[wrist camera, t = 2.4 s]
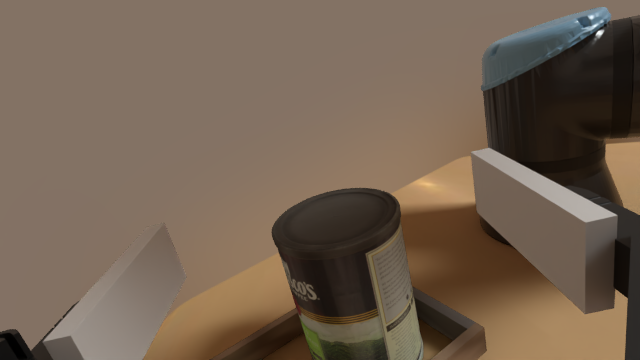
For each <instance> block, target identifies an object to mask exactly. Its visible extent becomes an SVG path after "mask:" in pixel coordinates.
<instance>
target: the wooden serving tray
mask: <svg viewBox="0 0 640 360" xmlns="http://www.w3.org/2000/svg"><path fill="white" fill-rule="evenodd" d="M412 290H413V296H414V301H415V306H416V312H417V317H418V318H419V319H421V320H422V321H424V322H425V323H427V324H429V325H430V326H432V327H433V328H435V329H436V330H438V331H439V332H441V333H442V334H444V335H445V336H447V337H448V338H450V339H451V340H453V341H452V342H451V343H450V344H449V345H448V346H446V347H445V348H444V349H443V350H442V351H440V352H439V353H438V354H437V355H435V356H434V357H433V358H432V359H431V360H477V359H478V358H479V357H480V356H481V355H483V354H484V353H485V352H486V351H487V349H486V340H485V331H484V327H483V326H481V325H479V324H477V323H476V322H474V321H472V320H470V319H469V318H467V317H465V316H463V315H462V314H460V313H458V312H456V311H455V310H453V309H451V308H449V307H448V306H446V305H444V304H442V303H441V302H439V301H437V300H435V299H434V298H432V297H430V296H428V295H427V294H425V293H423V292H421V291H420V290H418V289H416V288H414V287H413V286H412ZM303 332H304V330H303V327H302V324H301V320H300V317H299V314H298V311H297V308H295V309H293V310H292V311H290V312H288V313H287V314H285V315H283V316H282V317H280V318H278V319H277V320H275V321H273V322H272V323H270V324H268V325H267V326H265V327H263V328H262V329H260V330H258V331H257V332H255V333H253V334H252V335H250V336H248V337H247V338H245V339H243V340H242V341H240V342H238V343H237V344H235V345H233V346H232V347H230V348H228V349H227V350H225V351H223V352H222V353H220V354H218V355H217V356H215V357H213V358H212V359H210V360H261V359H263V358H264V357H266V356H267V355H269V354H270V353H272V352H274V351H275V350H277V349H278V348H280V347H281V346H283V345H284V344H286V343H288V342H289V341H291V340H292V339H294V338H295V337H297V336H298V335H300V334H302V333H303Z"/></svg>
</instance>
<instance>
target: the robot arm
mask: <svg viewBox="0 0 640 360" xmlns="http://www.w3.org/2000/svg"><path fill="white" fill-rule="evenodd" d="M610 19H611V14H610V13H609V12H608V9H607V8H605V7H600V8H594V9H590V10H587V11H583V12H580V13H575V14H572V15H569V16H565V17H562V18H559V19H556V20H553V21H550V22H547V23H544V24H541V25H538V26H535V27H532V28H529V29H526V30H523V31H521V32H518V33H515V34H513V35H510V36H507V37H505V38H503V39H500V40H498V41H496V42H495V43H493V44H491V45H490V46H489V47H488V48H487V49H486V51H485V53H484V55H483V58H482V75H483V76H482V79H483V84H482V86H481V90H482V91H483V96H484V106H485V117H486V127H487V138H488V148H486V149H482V150H478V151H473V152H471V160H472V170H473V179H474V189H475V199H476V209H477V213H478V214H479V215H480V223H481V226H482V228H483V229H484V230H485V231H486V232H487V233H488V234H489V235H490V236H492V237H493V238H495V239H497V240H499V241H501V242H503V243H506V244H509V245H512V246H513V247H514V248H515V249H517V250H518V251H519V252H520V253H521V254H522V255H523V256H524V257H525V258H526V259H527V260H528V261H529V262H530V263H531V264H532V265H533V266H535V267H536V268H537V269H538V270H539V271H540V272H541V273H542V274H543V275H544V276H545V277H546V278H547V279H548V280H549V281H550V282H551V283H553V284H554V285H555V286H556V287H557V288H558V289H559V290H560V291H561V292H562V293H563V294H564V295H565V296H566V297H567V298H568V299H569V300H571V301H572V302H573V303H574V304H575V305H576V306H577V307H578V308H579V309H580V310H581V311H582V312H583V313H584V314H588V313H593V312H598V311H603V310H608V309H612V308H614V300H615V289H616V290H618V291H619V292H620V293H622V294H623V295H624V296H626V297H627V298H628V307H627V326H626V348H625V360H640V215H638V214H636V213H634V212H632V211H630V210H628V209H626V208H624V207H623V203H622V200H621V198H620V195H619V193H618V191H617V188H616V186H615V183H614V181H613V178H612V176H611V173H610V171H609V169H608V166H607V164H606V160H605V145H606V143H605V142H606V139H613V138H632V137H640V15H638V16H633V17H629V18H624V19H619V20H613V21H610ZM185 279H186V274H185V272H184V269H183V267H182V265H181V262H180V260H179V257H178V255H177V252H176V250H175V247H174V245H173V243H172V240H171V238H170V235H169V233H168V230H167V228H166V226H165V223H161V224H157V225H153V226H148V227H147V228H146V229H145V230H144V231H143V232H142V233H141V234H140V235H139V236H138V237H137V238H136V240H135V241H134V242H133V243H132V244H131V245H130V246H129V247H128V248H127V249H126V251H125V252H124V253H123V254H122V255H121V256H120V257H119V259H117V261H116V262H115V263H114V264H113V265H112V266H111V267H110V268H109V269H108V270H107V271H106V273H105V274H104V275H103V276H102V277H101V278H100V279H99V280H98V281H97V282H96V284H95V285H94V286H93V287H92V288H91V289H90V290H89V291H88V292H87V293H86V294H85V296H84V297H83V298H82V299H81V300H80V301H78V302H77V303H76V304H74V305H73V306H72V307H71V308H70V309H69V310H68V311H67V313H66V314H65V315H64V316H63V318H62V319H60V320H59V321H58V322H57V323H56V324H55V327H54V328H52V329H51V330H50V331H49V332H48V333H47V334H46V335H45V336H44V338H43V339H42V340H41V341H40V342H39V343H38V344H37V345H36V346H35V347H34V348H33V349H32V351H30V349H29V348H28V346H27V345H26V343H25V341H24V340H23V338H22V337H21V335H20V333H19V332H18V331H17V330H16V329H15V330H14V329H12V330H11V329H10V330H6V331H2V332H0V360H143V358H144V356H145V354H146V352H147V350H148V349H149V347H150V345H151V343H152V341H153V339H154V337H155V335H156V334H157V332H158V330H159V328H160V326H161V324H162V322H163V320H164V319H165V317H166V315H167V313H168V311H169V309H170V307H171V305H172V304H173V302H174V299H175V298H176V296H177V294H178V292H179V290H180V289H181V286H182V285H183V283H184V281H185Z"/></svg>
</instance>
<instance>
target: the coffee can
mask: <svg viewBox="0 0 640 360" xmlns="http://www.w3.org/2000/svg"><path fill="white" fill-rule="evenodd" d="M400 217H401V212H400V205H399V202H398V201H397V199H396V198H395V197H394V196H392V195H391V194H389V193H387V192H384V191H381V190H377V189H369V188H350V189H341V190H336V191H331V192H326V193H323V194H320V195H316V196H313V197H311V198H308V199H306V200H304V201H302V202H300V203H298V204H297V205H294V206H293V207H291V208H290V209H288V210H287V211H285V212H284V213H283V214H282V215H281V216H280V217H279V218H278V219H277V221H276V222H275V223H274V225H273V227H272V237H273V240H274V242H275V245H276V246H277V248H278V251H279V254H280V257H281V260H282V263H283V267H284V269H285V273H286V276H287V279H288V283H289V285H290V289H291V292H292V295H293V299H294V302H295V305H296V308H297V311H298V314H299V317H300V320H301V324H302V327H303V330H304V333H305V337H306V340H307V343H308V346H309V350H310V353H311V356H312V360H422V358H423V341H422V338H421V334H420V330H419V324H418V318H417V312H416V306H415V301H414V296H413V290H412V284H411V278H410V272H409V267H408V261H407V255H406V249H405V243H404V238H403V232H402V226H401V220H400Z"/></svg>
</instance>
